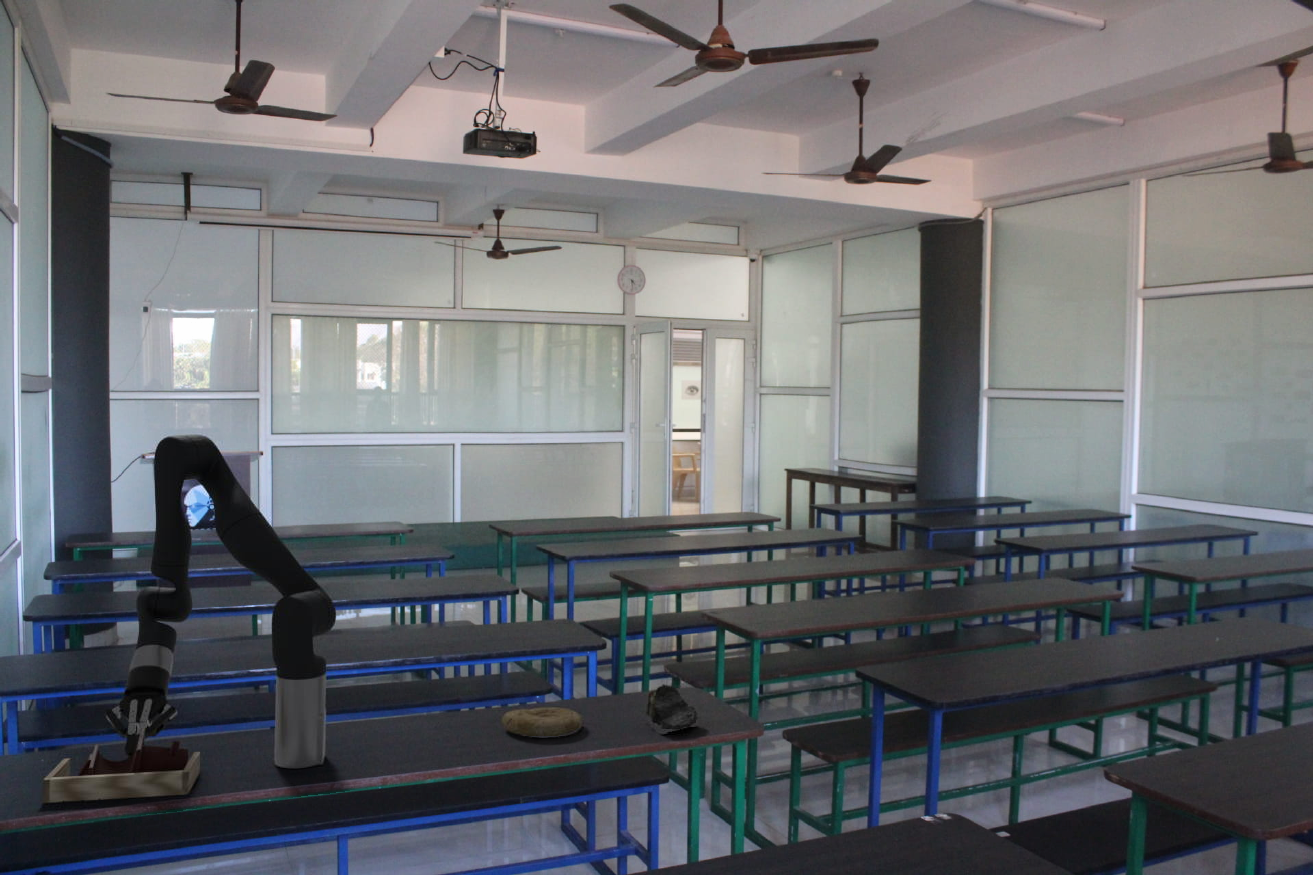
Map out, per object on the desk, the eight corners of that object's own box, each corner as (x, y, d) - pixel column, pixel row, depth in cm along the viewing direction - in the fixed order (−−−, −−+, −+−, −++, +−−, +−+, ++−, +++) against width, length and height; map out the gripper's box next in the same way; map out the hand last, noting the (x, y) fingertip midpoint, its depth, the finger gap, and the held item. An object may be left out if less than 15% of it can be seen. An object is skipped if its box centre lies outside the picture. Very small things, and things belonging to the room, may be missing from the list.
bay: (199, 772, 189) (200, 751, 189) (187, 794, 179) (188, 771, 179) (63, 780, 184) (63, 758, 184) (43, 802, 173) (43, 779, 173)
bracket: (80, 766, 183) (91, 722, 181) (181, 774, 190) (193, 731, 188) (74, 790, 178) (85, 744, 175) (177, 797, 185) (190, 753, 182)
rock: (640, 719, 232) (639, 680, 230) (685, 709, 236) (684, 671, 233) (661, 751, 219) (660, 710, 217) (708, 741, 223) (707, 700, 220)
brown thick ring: (546, 748, 210) (546, 727, 210) (495, 734, 219) (495, 713, 219) (597, 729, 224) (598, 709, 224) (547, 716, 233) (548, 696, 232)
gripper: (109, 664, 194) (89, 748, 182) (183, 662, 197) (168, 744, 185) (116, 685, 199) (97, 767, 187) (188, 682, 202) (174, 763, 190)
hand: (132, 756), depth 186 cm, fingers closed
